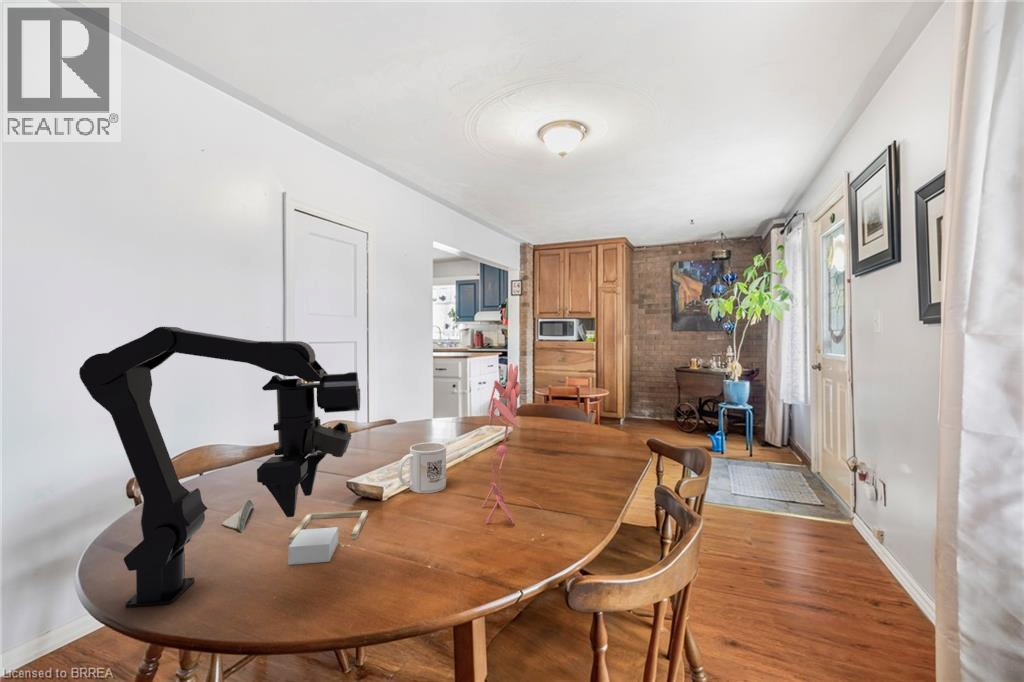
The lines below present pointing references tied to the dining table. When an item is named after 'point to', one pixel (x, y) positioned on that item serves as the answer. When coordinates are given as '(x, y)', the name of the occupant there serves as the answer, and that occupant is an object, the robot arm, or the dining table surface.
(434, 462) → the mug
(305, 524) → the tile bay
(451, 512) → the dining table surface
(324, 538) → the pale blue eraser block
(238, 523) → the ceramic fragment
